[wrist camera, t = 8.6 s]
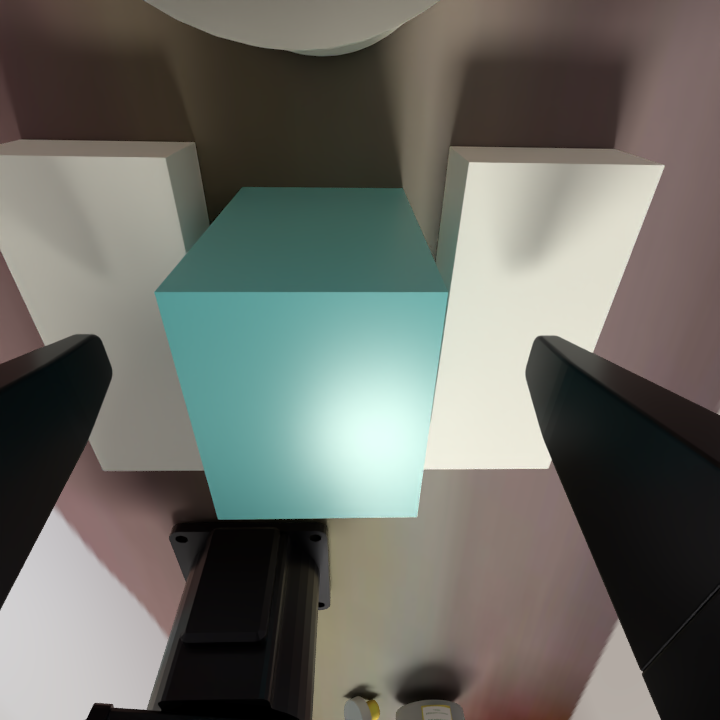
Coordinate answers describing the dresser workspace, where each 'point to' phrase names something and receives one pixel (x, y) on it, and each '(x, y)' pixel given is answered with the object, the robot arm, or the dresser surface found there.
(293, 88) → the dresser surface
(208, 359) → the teal rectangular block
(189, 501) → the dresser surface
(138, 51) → the dresser surface
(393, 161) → the dresser surface
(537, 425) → the notched board
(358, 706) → the reed diffuser
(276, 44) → the bobbin
